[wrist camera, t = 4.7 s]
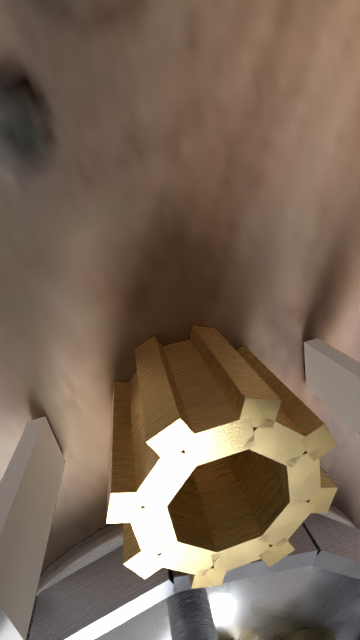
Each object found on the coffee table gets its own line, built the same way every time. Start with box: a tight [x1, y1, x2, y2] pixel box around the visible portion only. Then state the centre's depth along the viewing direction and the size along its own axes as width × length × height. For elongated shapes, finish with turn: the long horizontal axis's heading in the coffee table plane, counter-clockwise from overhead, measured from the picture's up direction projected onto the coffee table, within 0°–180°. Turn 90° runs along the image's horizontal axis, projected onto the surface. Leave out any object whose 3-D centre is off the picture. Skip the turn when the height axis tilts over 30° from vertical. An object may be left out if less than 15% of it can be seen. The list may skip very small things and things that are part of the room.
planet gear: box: [106, 325, 338, 589], centre depth 12 cm, size 7×7×6 cm
